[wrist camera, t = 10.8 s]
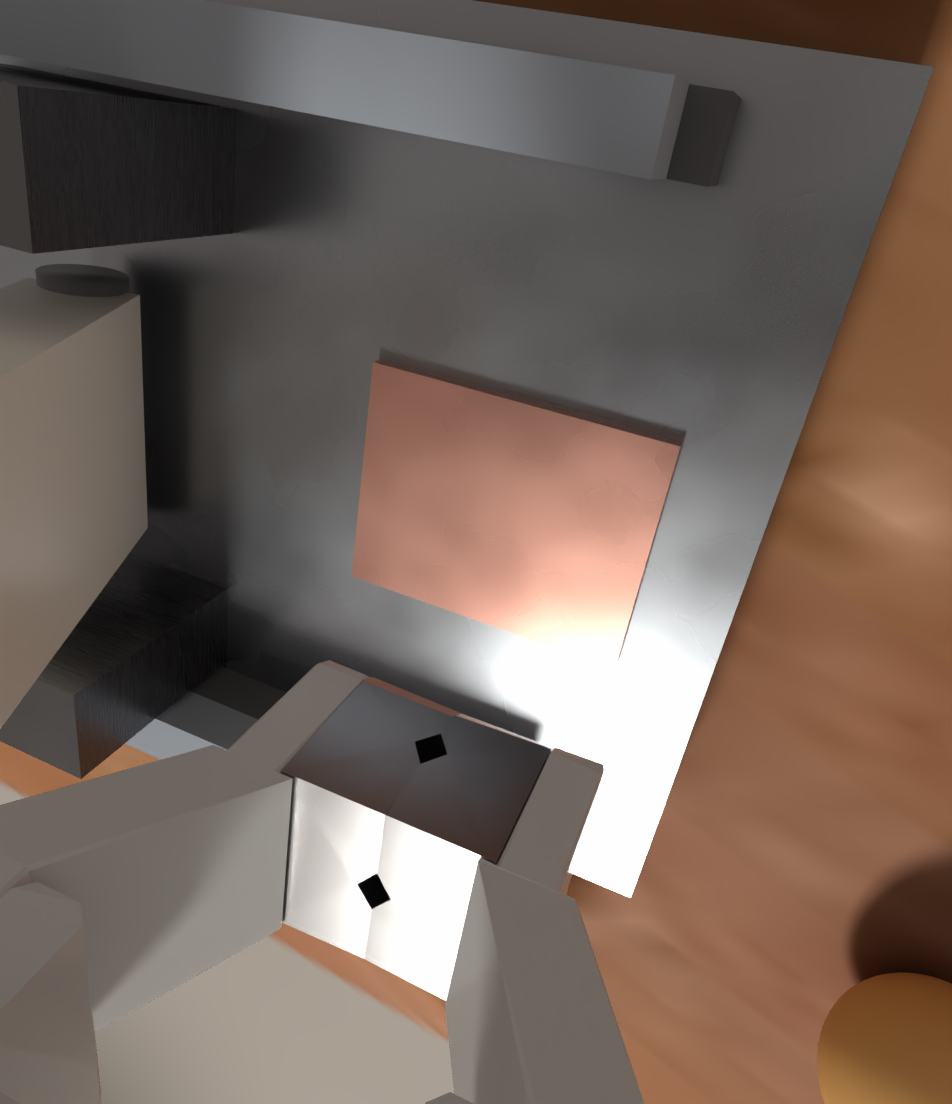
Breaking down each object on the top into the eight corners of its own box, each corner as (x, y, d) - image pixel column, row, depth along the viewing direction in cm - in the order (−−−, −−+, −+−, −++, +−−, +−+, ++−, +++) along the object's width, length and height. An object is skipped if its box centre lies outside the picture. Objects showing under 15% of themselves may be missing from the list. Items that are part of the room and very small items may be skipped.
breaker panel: (911, 89, 12) (996, 5, 6) (657, 797, 18) (577, 1094, 12) (-215, -82, 18) (-742, -210, 12) (-103, 502, 24) (-403, 609, 18)
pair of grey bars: (740, 98, 10) (722, 83, 8) (539, 835, 16) (505, 913, 14) (-308, -73, 15) (-453, -104, 13) (-161, 544, 21) (-248, 576, 19)
